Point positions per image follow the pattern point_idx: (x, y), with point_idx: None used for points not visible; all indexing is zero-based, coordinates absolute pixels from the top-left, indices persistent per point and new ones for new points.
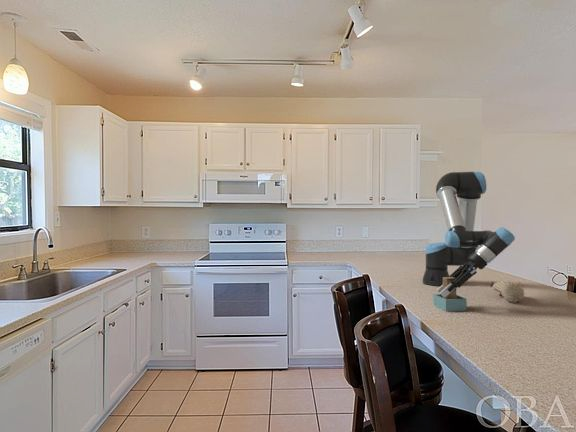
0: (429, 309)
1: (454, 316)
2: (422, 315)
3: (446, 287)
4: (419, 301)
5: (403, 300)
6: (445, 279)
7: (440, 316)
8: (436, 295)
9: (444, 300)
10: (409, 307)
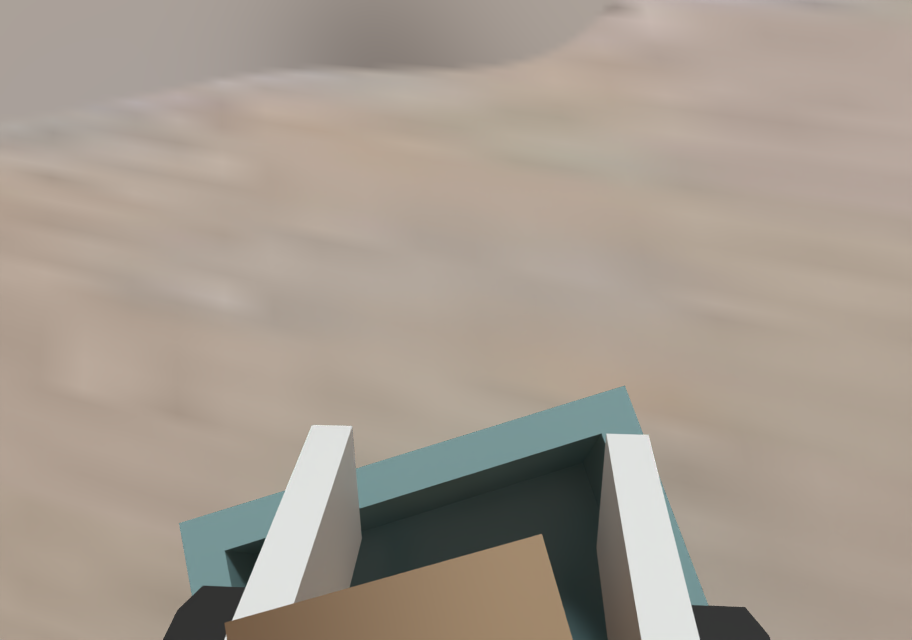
0: (364, 320)
1: (14, 597)
2: (82, 174)
3: (252, 578)
4: (817, 267)
5: (818, 54)
6: (343, 589)
7: (27, 390)
8: (541, 429)
9: (235, 510)
10: (442, 80)
